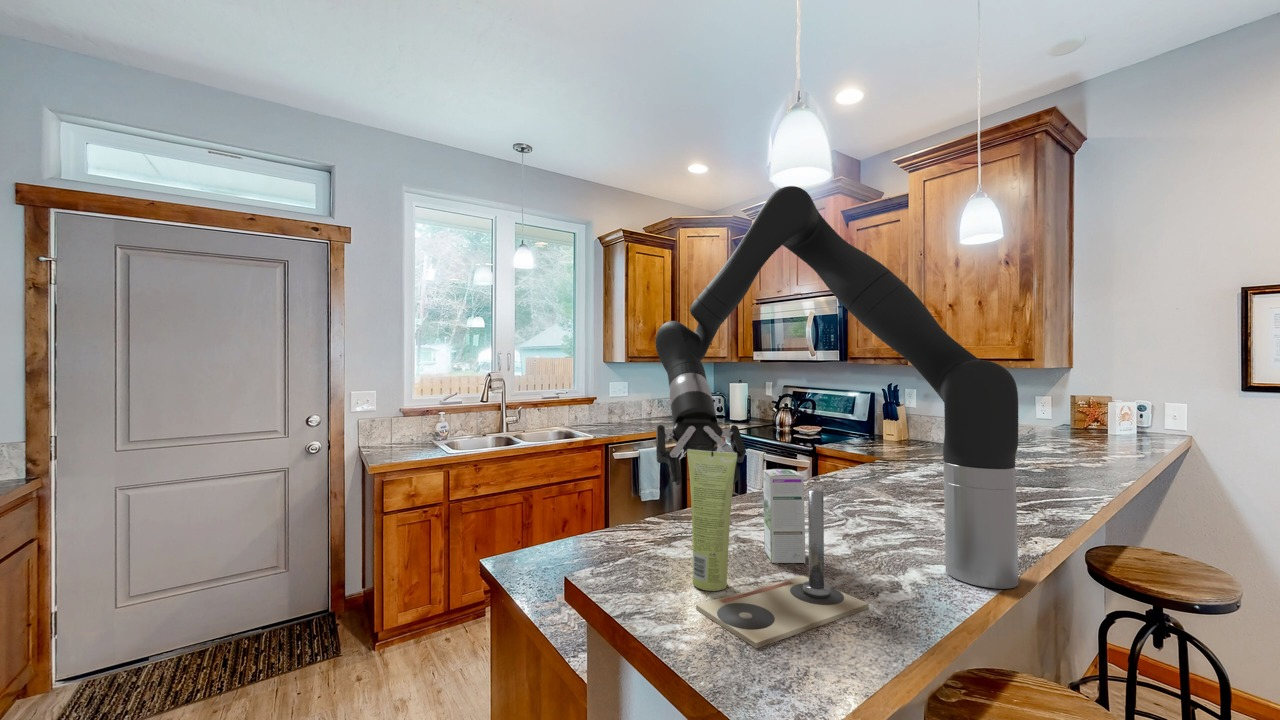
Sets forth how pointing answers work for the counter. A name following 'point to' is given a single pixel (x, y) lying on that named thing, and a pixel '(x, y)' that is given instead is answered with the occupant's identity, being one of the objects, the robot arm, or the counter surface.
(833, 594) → the board
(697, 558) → the tube
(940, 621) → the counter surface
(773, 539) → the syrup box
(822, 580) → the fixed peg
